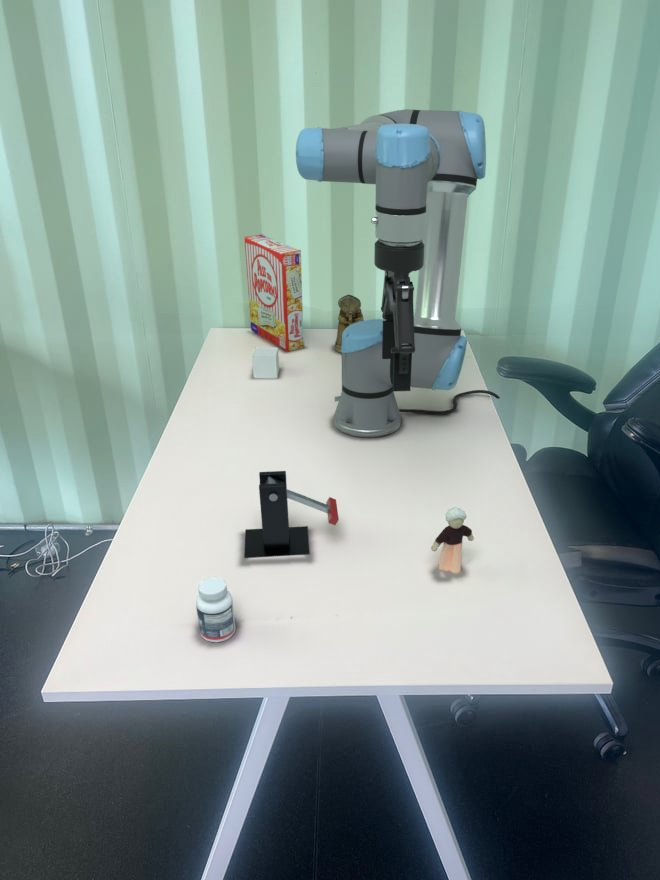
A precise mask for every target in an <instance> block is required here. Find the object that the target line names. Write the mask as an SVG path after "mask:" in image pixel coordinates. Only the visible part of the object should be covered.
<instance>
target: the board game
mask: <svg viewBox="0 0 660 880" xmlns="http://www.w3.org/2000/svg"><path fill="white" fill-rule="evenodd" d="M243 239H244V251H245V264H246V276H247V277H246V278H247V289H248V290H247V291H248V303H249V316H250V317H249V319H250V330H251V332H253V333H255V334H256V335H258V336H260V337H261V338H263V339H265V340H266V341H268V342H269V343H271V344H273V345H274V346H276V347H277V348H279V349H281V350H283V352H285V353H287V352H288V353H289V352H293V351H297V350H301V349H304V348H305V345H304V344H305V342H304V341H305V340H304V339H305V338H304V319H303V318H304V316H303V314H304V313H303V283H302V282H303V281H302V280H303V279H302V278H303V276H302V275H303V274H302V250H301V249H298V248H296V247H294V246H293V247H292V246H290V245H288V244H285V243H283V242H281V241H278V240H276V239H274V238H272V237H269V236H267V235H266V234H263V233H261V234H255V235H248V236H244V238H243Z"/></svg>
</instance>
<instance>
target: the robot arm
mask: <svg viewBox="0 0 660 880" xmlns="http://www.w3.org/2000/svg"><path fill="white" fill-rule="evenodd" d="M486 142H487V141H486V126H485V122H484V119H483V117H482V116H481V114H479V113H475V112H468V111H462V110H434V109H433V110H432V109H431V110H429V109H410V108H409V109H397V110H393V111H392V110H391V111H387V112H384V113H379V114H375V115H371V116H368V117H367V118H365V119H364V120H363V121H361V122H360V123H358V124H354V125H353V124H352V125H347V126H341V127H336V128H327V127H325V128H322V127H305V128H303V129H301V130H300V132H299V133H298V136H297V139H296V144H295V163H296V168H297V172H298V174H299V176H301V178H302V179H304V180H308V181H316V182H319V183H322V182H330V183H352V184H365V185H375V206H374V207H375V215H376V216H373V217H371V218H370V220H371V221H370V223H371V224H372V225H375V226H374V236H375V238H376V239H377V240H376V241H375V242H374V256H373V257H374V262H373V263H374V266H375V267H376V269H378V270H380V271H383V272H384V278H383V288H382V298H381V307H380V311H381V313H382V314H381V317H382V318H372V319H363V320H364V321H360V322H357V323H354V324H352V325H350V326H348V327H347V328H346V329H345V330H344V332H343V334H342V347H341V353H340V354H341V355H340V356H341V357H340V358H341V393H340V395H337V396H334V402H335V403H336V402H337V405H336V408H335V410H334V415H333V419H334V420H333V422H334V426H335V428H336V430H338V431H340V432H341V433H344V434H346V435H349V436H352V437H357V438H365V439H366V438H368V439H369V438H381V437H385V436H389V435H391V434H393V433H395V432H396V431H397V430H399V428H400V427H401V424H402V415H401V413H413V414H415V413H417V414H430V415H431V414H432V415H448V414H451V413H453V412H455V411H456V410H457V408H458V403H457V399H458V398H460V397H464V396H468V395H472V394H485V395H486V394H487V395H490V396H492V397H494V398H495V399H497V400H498V399H501V397H500V396H499V395H498V394H497V393H495V392H493V391H490V390H485V389H474V390H473V389H472V390H468V391H463V392H460V393H457V394H456V395H454V397H453V398H452V403H453V407H451V408H450V409H447V410H431V409H430V410H429V409H417V408H416V409H415V408H414V409H413V408H399V405H398V401H397V398H396V396H395V392H411V388H419V389H428V390H431V391H435V390H436V391H451V390H452V389H454V388H455V387H456V385H457V383H458V382H459V381H458V380H459V378H460V374H461V371H462V367H463V364H464V360H465V356H466V350H467V345H468V338H467V337H466V336H465V335H462V326H461V324H459V322H458V321H457V319H456V315H457V314H456V313H457V305H458V297H459V296H458V295H459V285H460V275H461V266H462V257H463V256H462V255H463V246H464V236H465V226H466V218H467V217H466V216H467V207H468V198H469V196H470V195H471V194H472V193H474V192H475V191H476V190H477V183H478V180H482V179H484V178H485V177H486V170H487V169H486V166H487V143H486ZM417 271H418V275H417V283H416V284H417V286H416V287H417V288H416V297H415V308H414V291H415V287H414V283H413V281H411V277H410V273H413V272H417Z"/></svg>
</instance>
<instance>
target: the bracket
mask: <svg viewBox="0 0 660 880" xmlns="http://www.w3.org/2000/svg"><path fill="white" fill-rule="evenodd" d="M258 477H259V485H258V491H259V503H260V517H261V528H249V529H248V528H247V529H245V532H244V553H243V559H253V558H254V559H255V558H257V559H258V558H272V557H273V558H274V557H288V556H289V557H290V556H308V555H311V553H310V541H309V528H308V525H307V526H305V525H304V526H302V525H301V526H290V523H289V521H290V520H289V505H288V501H289V500H288V498H287V489H288V486H287V485H288V483H287V471H286V470H275V471H273V470H272V471H259V473H258ZM268 477H271V478H274V479H277V480H279V481H282V482H284V483H276V484H265V482H266V480H267V478H268Z"/></svg>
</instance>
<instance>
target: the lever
mask: <svg viewBox="0 0 660 880" xmlns="http://www.w3.org/2000/svg"><path fill="white" fill-rule="evenodd" d="M276 483H284V482H282V481H279V480H277V479H274V478H271V477H268V478H267V480H266V482H265V484H276ZM287 499H289V500H292V501H294V502H296V503H300V504H302V505H304V506H307V507H310V508H313V509H315V510H318V511H320V512H323V513H326V514H327V520H328V521H327V522H328V524H330V525H333V526H337V524H338V522H339V511H338V505H337V499H336V498H333V497H331V496H329V497H328V498H327V501H326V502H325V503H324V502H321V501H319V500H316V499H313V498H311V497H308V496H306V495H303V494H301V493H299V492H296V491H293V490H290V489H288V488H287Z"/></svg>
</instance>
